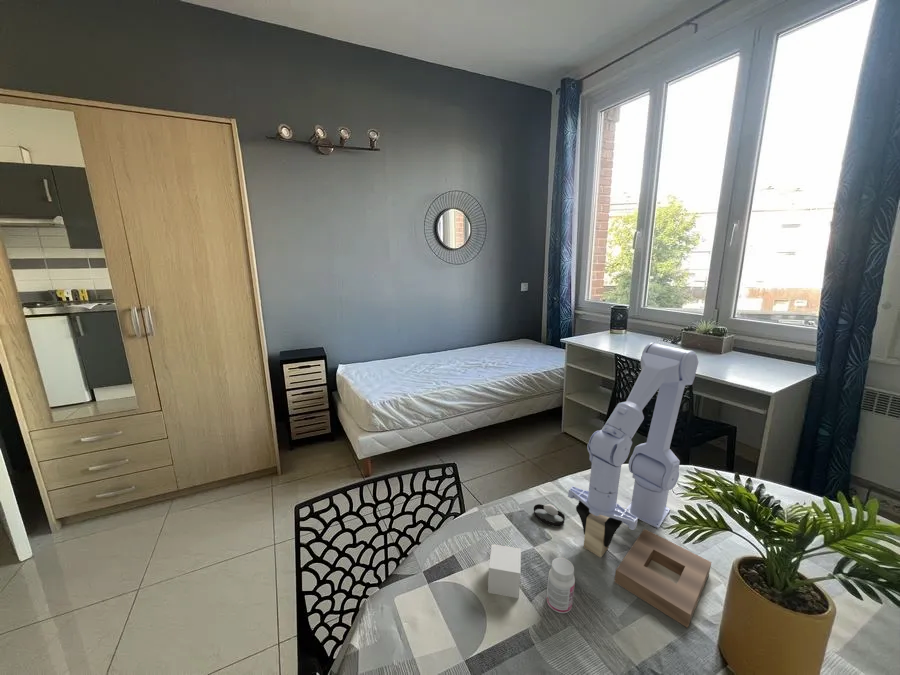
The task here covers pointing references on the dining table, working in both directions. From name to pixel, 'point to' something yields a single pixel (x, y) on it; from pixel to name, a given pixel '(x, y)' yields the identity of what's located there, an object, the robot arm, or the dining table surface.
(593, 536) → the beech peg
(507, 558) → the white cube
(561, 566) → the pill bottle
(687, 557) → the socket block
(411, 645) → the dining table surface
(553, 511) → the watch
